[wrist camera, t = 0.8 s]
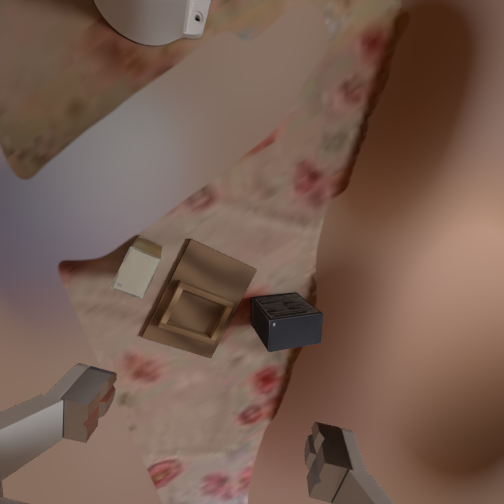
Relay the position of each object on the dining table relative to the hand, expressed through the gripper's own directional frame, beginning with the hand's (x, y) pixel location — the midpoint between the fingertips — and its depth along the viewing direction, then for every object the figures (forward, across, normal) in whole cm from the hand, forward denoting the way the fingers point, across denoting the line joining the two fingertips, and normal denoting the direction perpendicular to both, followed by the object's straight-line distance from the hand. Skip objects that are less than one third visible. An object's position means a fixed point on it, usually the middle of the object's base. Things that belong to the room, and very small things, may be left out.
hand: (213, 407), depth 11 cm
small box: (+42, -8, +18) cm, 47 cm away
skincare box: (+35, +18, +10) cm, 41 cm away
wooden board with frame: (+37, +7, +17) cm, 42 cm away
